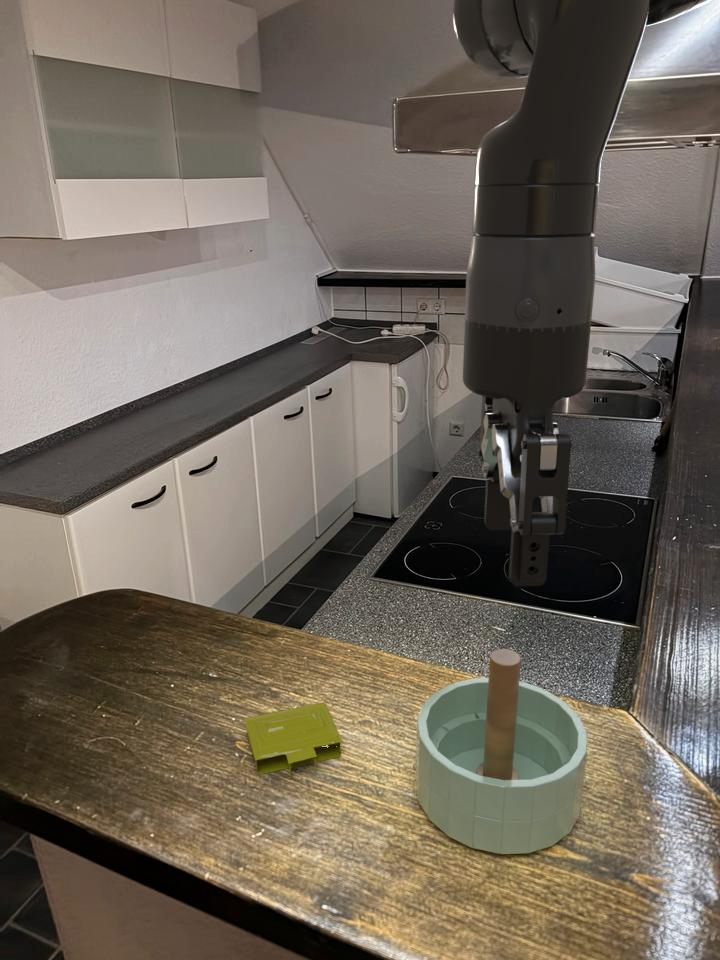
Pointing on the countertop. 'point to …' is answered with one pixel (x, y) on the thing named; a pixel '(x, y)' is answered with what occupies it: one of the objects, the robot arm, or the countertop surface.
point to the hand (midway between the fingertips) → (512, 553)
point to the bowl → (494, 802)
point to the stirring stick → (501, 715)
